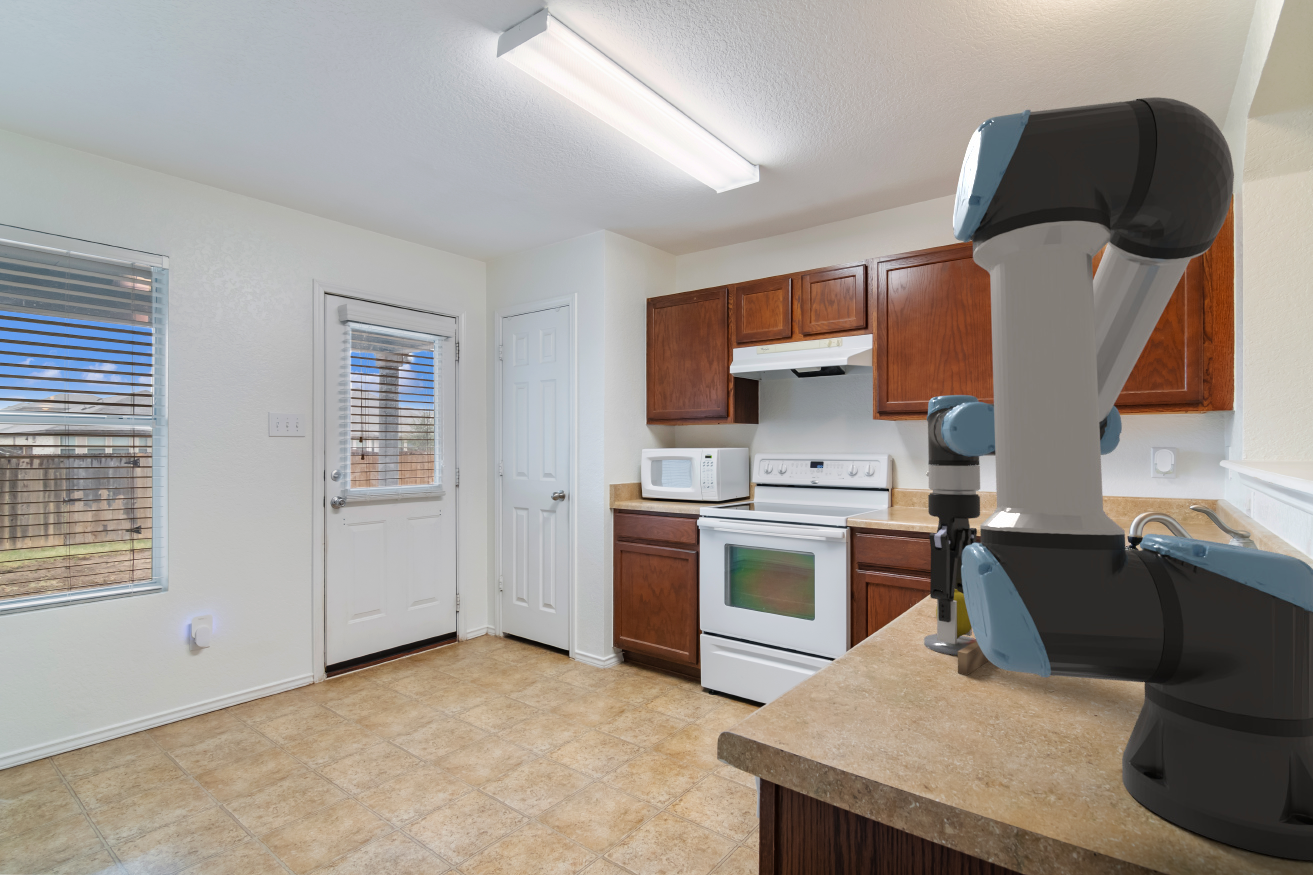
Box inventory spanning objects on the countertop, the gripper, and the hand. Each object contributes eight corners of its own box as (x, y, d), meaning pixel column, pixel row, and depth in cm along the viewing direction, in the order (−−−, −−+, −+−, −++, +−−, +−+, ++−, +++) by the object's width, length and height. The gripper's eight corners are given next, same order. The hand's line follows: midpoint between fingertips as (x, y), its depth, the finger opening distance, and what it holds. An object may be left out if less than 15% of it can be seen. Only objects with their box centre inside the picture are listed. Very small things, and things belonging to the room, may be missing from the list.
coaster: (974, 660, 95) (974, 654, 95) (914, 646, 101) (914, 641, 101) (994, 647, 101) (994, 642, 101) (937, 635, 108) (937, 630, 108)
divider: (966, 674, 89) (966, 653, 89) (957, 672, 89) (957, 651, 90) (1008, 647, 101) (1008, 628, 101) (1000, 645, 102) (1000, 626, 102)
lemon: (978, 645, 98) (978, 593, 98) (940, 643, 99) (940, 591, 99) (968, 635, 103) (968, 586, 104) (932, 633, 105) (932, 584, 105)
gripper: (952, 489, 111) (953, 622, 110) (905, 493, 98) (906, 644, 98) (998, 490, 106) (999, 631, 105) (955, 495, 93) (956, 655, 92)
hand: (954, 637), depth 101 cm, fingers closed on lemon, 5 cm apart
